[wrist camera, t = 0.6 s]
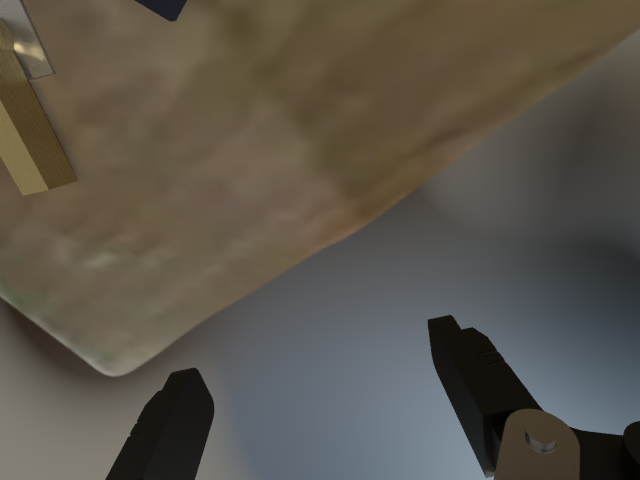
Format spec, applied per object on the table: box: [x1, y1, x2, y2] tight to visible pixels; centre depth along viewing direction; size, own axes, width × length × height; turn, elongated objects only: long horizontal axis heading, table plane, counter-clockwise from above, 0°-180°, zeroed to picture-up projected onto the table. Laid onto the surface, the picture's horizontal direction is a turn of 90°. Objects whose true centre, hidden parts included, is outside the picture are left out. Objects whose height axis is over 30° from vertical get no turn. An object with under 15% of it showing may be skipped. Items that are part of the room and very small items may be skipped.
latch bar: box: [0, 20, 77, 195], centre depth 29 cm, size 15×4×4 cm, turn 12°
